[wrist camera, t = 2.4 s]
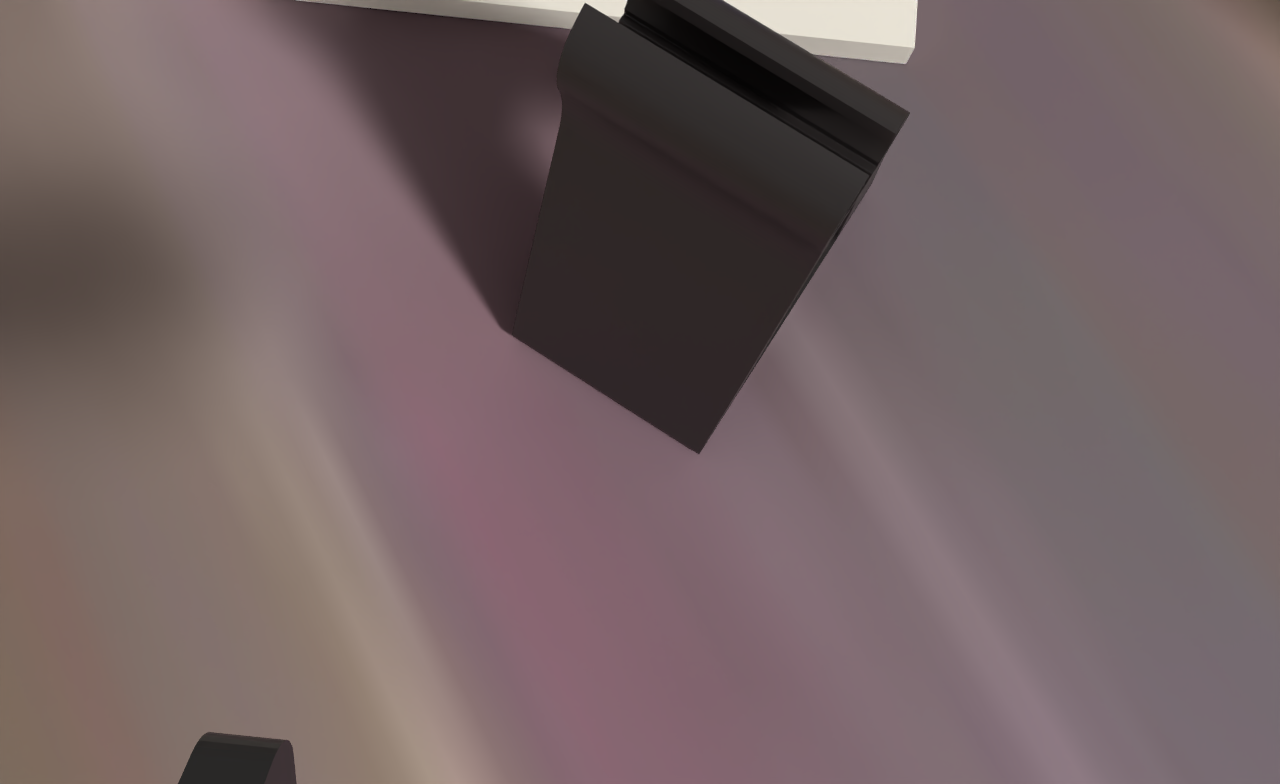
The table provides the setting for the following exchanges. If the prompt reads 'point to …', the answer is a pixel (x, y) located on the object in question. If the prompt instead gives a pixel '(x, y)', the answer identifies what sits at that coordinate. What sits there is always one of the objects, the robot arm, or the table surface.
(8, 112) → the table surface
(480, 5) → the white flat board
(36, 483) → the table surface
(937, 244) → the table surface
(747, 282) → the phone stand
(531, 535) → the table surface
